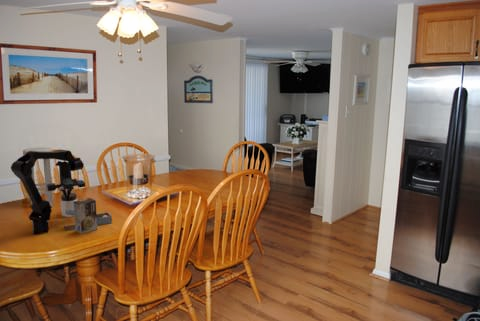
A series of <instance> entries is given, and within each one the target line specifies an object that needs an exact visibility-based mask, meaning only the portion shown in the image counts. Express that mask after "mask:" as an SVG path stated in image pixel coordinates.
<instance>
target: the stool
mask: <svg viewBox="0 0 480 321" xmlns="http://www.w3.org/2000/svg"><path fill="white" fill-rule="evenodd" d="M28 151H48V152H52V151H53V150H52V148H51V147H29V148H25V149H23V150H22V156H24V155H25V154H26V153H27V152H28ZM42 160H43V169H44V170H43V171H44V182H43V183H42V182H41V183H36V182H35V171H34V170H35V169H34V167H35V166H33V167H32V168H31V169H32V179H33V181H34V183H35V185H36V187H37V189H38V191H39V193H40V195H43V194H45V198H46V200H45V201H49V203H50V206H51V207H53V206H54V199H53V198H54V197H53V191H48V190H47V187H46V185H47V184H50V183H53V182H52V173H51V172H52V171H51V170H52V169H51V159H42ZM27 162H28V161H27ZM29 200H30V201H29V203H30V205H32V204H33V203H32V201H31V199H30V198H29Z"/></svg>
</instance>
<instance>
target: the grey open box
mask: <svg viewBox="0 0 480 321" xmlns="http://www.w3.org/2000/svg"><path fill="white" fill-rule="evenodd" d="M96 215H97V227H98V226H104V225H110V224H113V218H112V215H111V214H110V213H109V211H105V212H101V213H96ZM104 215H107V216H108V217H103V216H104Z"/></svg>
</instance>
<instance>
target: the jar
mask: <svg viewBox="0 0 480 321" xmlns="http://www.w3.org/2000/svg"><path fill="white" fill-rule="evenodd" d="M66 195H67V192H66ZM74 201H78V197H77V193H75V192H71V193H70V196H69V199H68V201H66V199H65V197H64V194H63V193H62V194H61V195H60V209H61V216H62V217H65V218H71V217H73V216H72V215H67V214H66V213H65V211H66V209H68V210H74Z"/></svg>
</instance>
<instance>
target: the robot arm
mask: <svg viewBox="0 0 480 321" xmlns="http://www.w3.org/2000/svg"><path fill="white" fill-rule="evenodd" d="M43 159H50V160H57V162H56V163H55V165H54V166H56V167H58V168H59V184H56V183H54V182H52V183H50V184H47V185H46V187H47V190H48V191H52V192H53V191H56V190H57V189H58V191H60V192H61V193H62V195H63V194H64V197H65V199H66V201H68V199H69V196H70V193H72V191H73V190H75V187H78V188H85V187H86V182H85V181H84V180H83V179H80V180H79V179H77V178H72V172H74V171H81V170H82V169H83V168H84V166H85V165H84V162H83V161H82V160H81V158H80V157H74V155H73V153H72V151H71V150H69V149H68V150H67V149H61V148H60V149H55V150H54V151H53V150H52V152H48V151H28V152H27V153H26V154H25V155H24V156H23V155H21V156H20V157H19V158H17V159H16V160H15V161H14V162H13V163H11V166H10V170H11V172H12V173H13V175H15V177H17V178H18V179H19V180H20V181H21V183H22V184H23V187H24V190H25V191H26V193H27V195H28V197H29V200H30V199H31V201H32V203H33V204H31V209H32V211H31V213H30V214H29V215H28V219H29V221H32V232H33V235H40V234H46V233H49V230H50V229H49V222H48V221H50V218H51V214H52V210H53V209H52V207H53V206H50V203H49V201H46V200H44V199H43V198H42V194H40V193H39V192H40V190H39V191H38V189H37V187H38V186H36V185H35V184H36V182H35V183H34V181H33V179H32V169H31V168H32V167H35V164H36V162H37V160H43ZM27 161H28V162H27ZM66 193H67V195H66Z"/></svg>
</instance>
